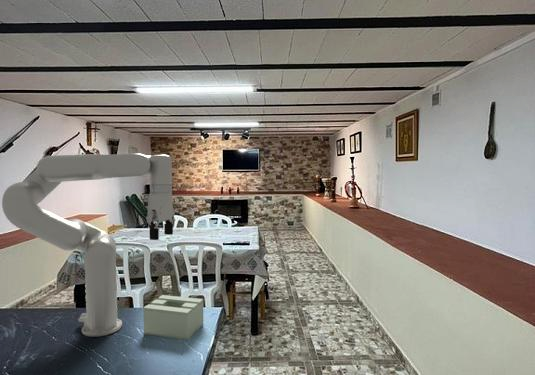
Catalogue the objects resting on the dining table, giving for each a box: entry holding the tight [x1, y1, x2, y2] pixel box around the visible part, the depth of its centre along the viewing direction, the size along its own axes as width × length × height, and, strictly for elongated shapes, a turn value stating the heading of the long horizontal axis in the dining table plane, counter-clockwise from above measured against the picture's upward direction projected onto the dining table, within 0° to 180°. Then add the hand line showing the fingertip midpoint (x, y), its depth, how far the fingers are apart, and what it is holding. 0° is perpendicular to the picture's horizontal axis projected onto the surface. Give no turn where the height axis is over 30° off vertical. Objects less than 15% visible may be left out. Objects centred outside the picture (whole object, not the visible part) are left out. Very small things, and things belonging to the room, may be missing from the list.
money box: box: [142, 294, 204, 341], centre depth 121 cm, size 16×12×9 cm
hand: (161, 236), depth 127 cm, fingers open, 9 cm apart
